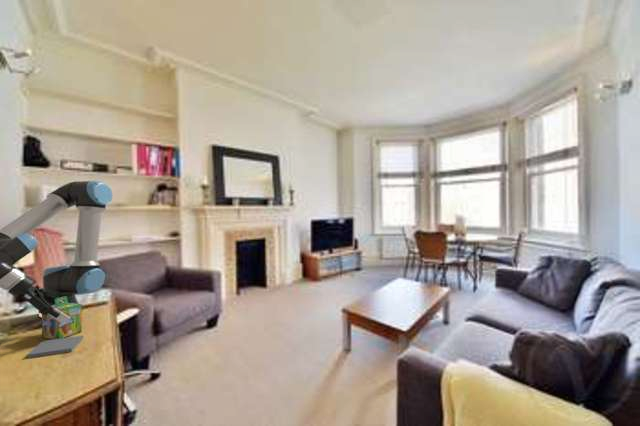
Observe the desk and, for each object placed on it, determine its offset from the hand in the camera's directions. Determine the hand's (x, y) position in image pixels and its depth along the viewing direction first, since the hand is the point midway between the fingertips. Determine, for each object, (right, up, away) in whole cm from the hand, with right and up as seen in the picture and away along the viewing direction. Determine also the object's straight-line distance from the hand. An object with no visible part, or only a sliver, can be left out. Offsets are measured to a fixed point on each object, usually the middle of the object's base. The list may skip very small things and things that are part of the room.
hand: (69, 316), depth 121 cm
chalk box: (-2, -7, -1) cm, 8 cm away
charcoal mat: (+6, -7, -13) cm, 16 cm away
